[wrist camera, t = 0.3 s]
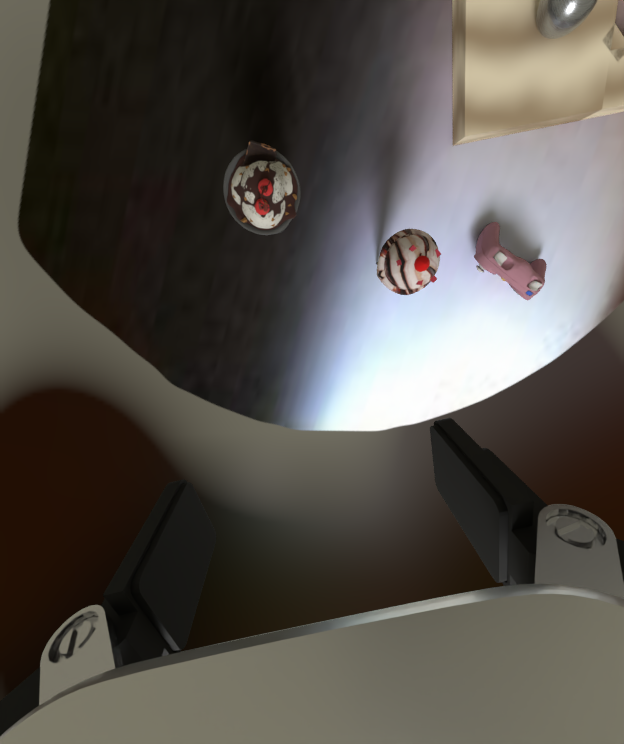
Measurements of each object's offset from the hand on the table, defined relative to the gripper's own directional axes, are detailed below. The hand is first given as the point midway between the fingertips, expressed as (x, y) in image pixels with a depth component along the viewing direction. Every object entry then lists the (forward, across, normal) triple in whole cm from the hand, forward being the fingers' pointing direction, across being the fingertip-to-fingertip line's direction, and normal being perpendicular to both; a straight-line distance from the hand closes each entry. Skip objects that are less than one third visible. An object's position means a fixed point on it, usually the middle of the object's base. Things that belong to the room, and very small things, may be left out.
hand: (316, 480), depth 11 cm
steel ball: (+26, -30, -23) cm, 46 cm away
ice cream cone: (+31, -11, -5) cm, 33 cm away
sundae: (+31, 0, -14) cm, 34 cm away
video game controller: (+31, -27, -2) cm, 41 cm away
